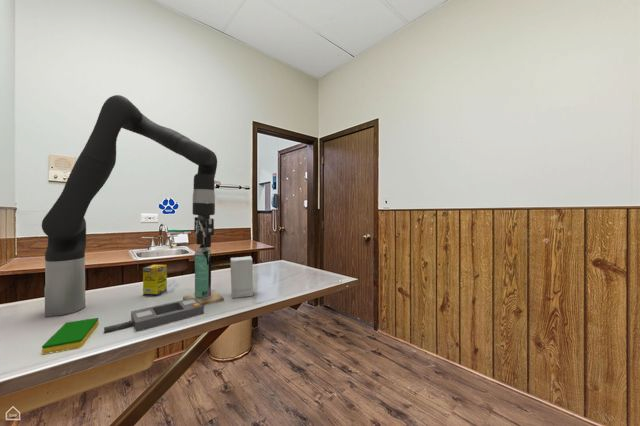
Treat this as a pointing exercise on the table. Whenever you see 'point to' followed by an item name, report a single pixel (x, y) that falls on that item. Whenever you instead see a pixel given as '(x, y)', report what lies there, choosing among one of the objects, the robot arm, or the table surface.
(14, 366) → the table surface
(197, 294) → the spray can
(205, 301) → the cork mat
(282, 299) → the table surface
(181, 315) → the power strip
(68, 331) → the dish sponge
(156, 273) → the supplement box
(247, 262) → the skincare box
